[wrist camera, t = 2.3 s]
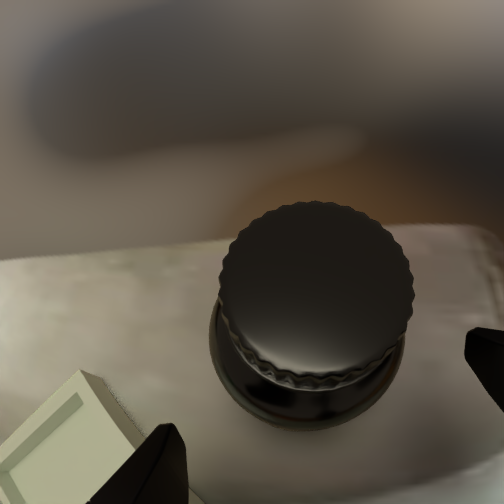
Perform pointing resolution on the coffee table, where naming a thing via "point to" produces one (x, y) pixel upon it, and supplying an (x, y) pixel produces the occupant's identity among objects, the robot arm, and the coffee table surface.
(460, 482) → the coffee table surface
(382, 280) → the supplement bottle
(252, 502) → the coffee table surface
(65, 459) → the tray
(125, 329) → the coffee table surface
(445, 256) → the coffee table surface
